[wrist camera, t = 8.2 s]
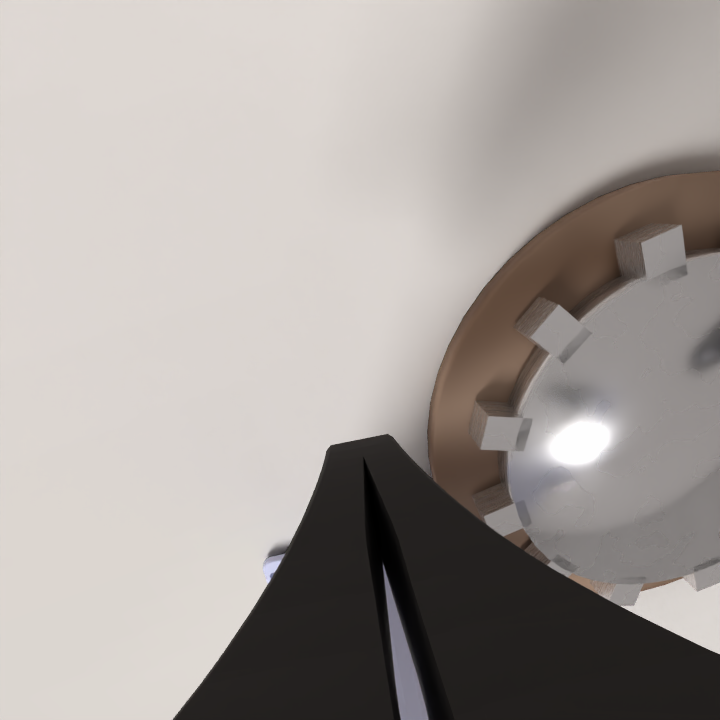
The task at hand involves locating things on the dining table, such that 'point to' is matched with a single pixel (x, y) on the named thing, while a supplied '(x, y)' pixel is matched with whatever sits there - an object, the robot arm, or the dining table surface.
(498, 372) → the sprocket base
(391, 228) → the dining table surface
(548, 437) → the sprocket
